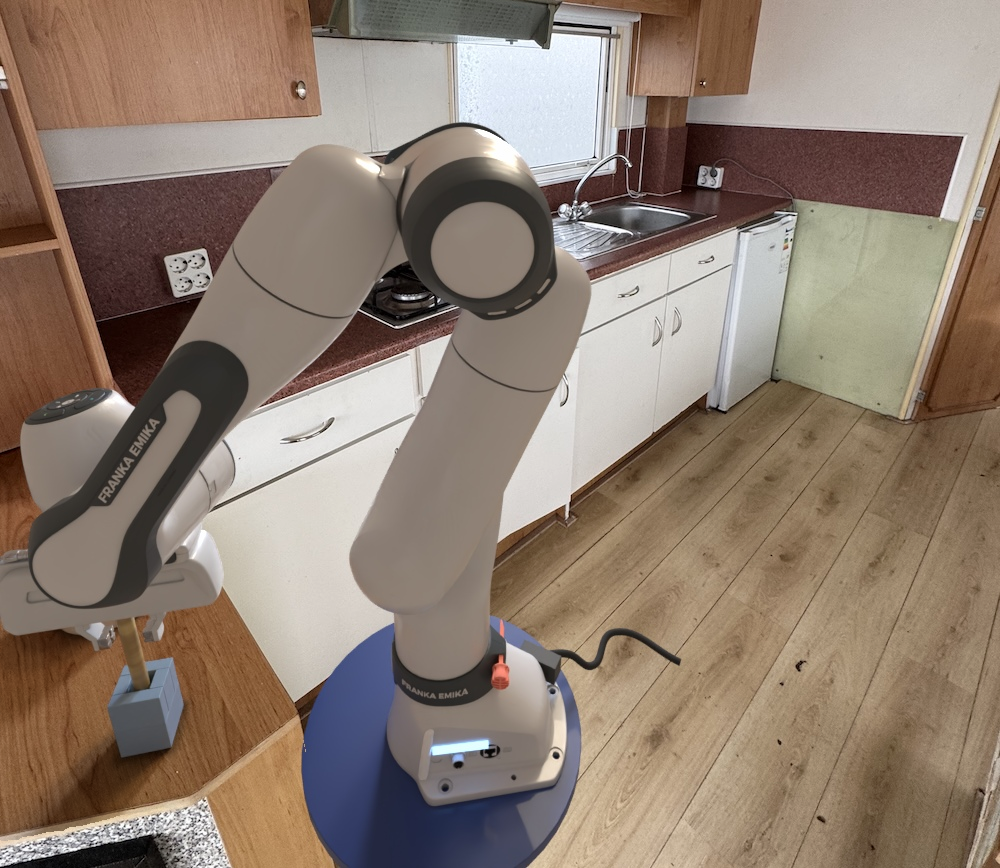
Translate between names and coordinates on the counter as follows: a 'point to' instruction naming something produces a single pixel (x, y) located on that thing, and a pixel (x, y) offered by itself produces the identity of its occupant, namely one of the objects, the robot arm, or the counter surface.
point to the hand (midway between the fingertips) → (130, 641)
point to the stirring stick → (133, 653)
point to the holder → (146, 710)
